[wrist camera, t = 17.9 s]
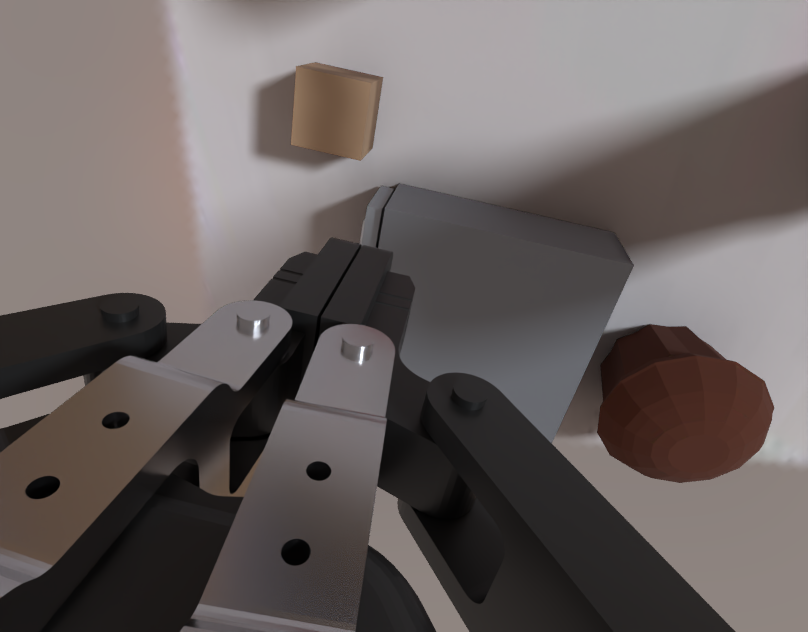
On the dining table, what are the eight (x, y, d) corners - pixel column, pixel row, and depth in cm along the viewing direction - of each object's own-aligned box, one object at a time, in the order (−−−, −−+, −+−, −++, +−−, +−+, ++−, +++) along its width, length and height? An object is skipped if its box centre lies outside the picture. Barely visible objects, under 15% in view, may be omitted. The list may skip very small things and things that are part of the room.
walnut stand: (383, 77, 35) (371, 83, 32) (372, 148, 37) (360, 160, 34) (315, 62, 35) (296, 66, 32) (309, 133, 38) (290, 144, 34)
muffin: (593, 428, 47) (616, 518, 38) (572, 327, 42) (593, 404, 34) (737, 407, 44) (798, 501, 35) (732, 296, 39) (801, 372, 30)
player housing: (614, 232, 38) (633, 265, 33) (544, 396, 46) (551, 443, 41) (399, 183, 38) (385, 207, 33) (367, 354, 47) (352, 395, 41)
